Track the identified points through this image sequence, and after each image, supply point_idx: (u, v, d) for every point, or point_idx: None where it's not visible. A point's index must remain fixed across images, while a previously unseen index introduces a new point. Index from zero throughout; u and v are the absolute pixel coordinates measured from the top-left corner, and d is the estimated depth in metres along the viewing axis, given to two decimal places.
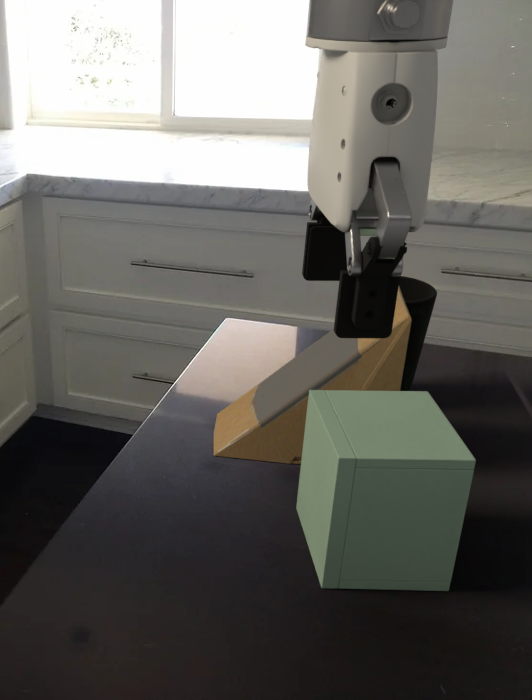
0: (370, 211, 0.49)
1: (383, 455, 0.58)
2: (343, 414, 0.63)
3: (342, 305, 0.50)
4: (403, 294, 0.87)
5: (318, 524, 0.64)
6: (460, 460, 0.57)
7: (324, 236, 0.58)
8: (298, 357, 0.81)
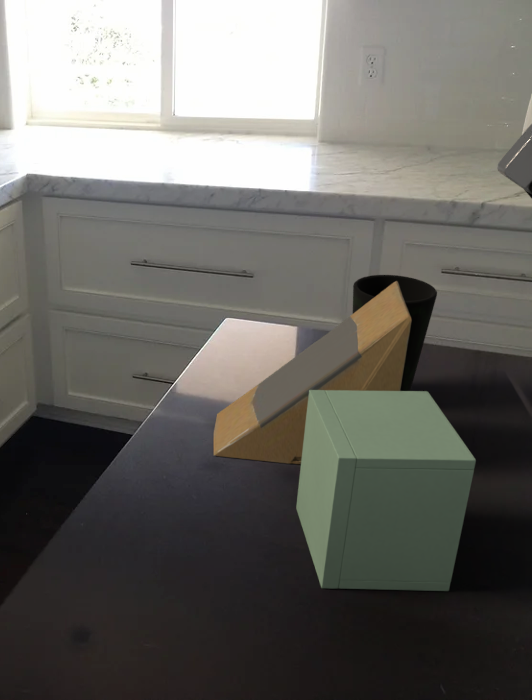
0: None
1: (383, 455, 0.58)
2: (343, 414, 0.63)
3: None
4: (403, 294, 0.87)
5: (318, 524, 0.64)
6: (460, 460, 0.57)
7: None
8: (298, 357, 0.81)
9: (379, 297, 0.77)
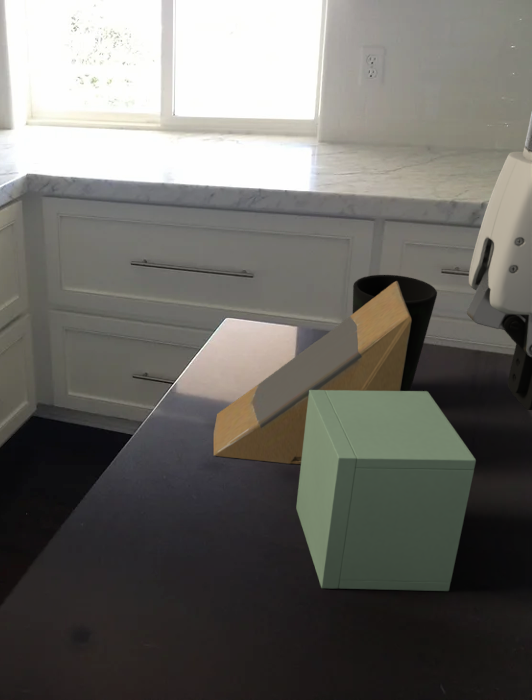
0: None
1: (383, 455, 0.58)
2: (343, 414, 0.63)
3: None
4: (403, 294, 0.87)
5: (318, 524, 0.64)
6: (460, 460, 0.57)
7: None
8: (298, 357, 0.81)
9: (379, 297, 0.77)
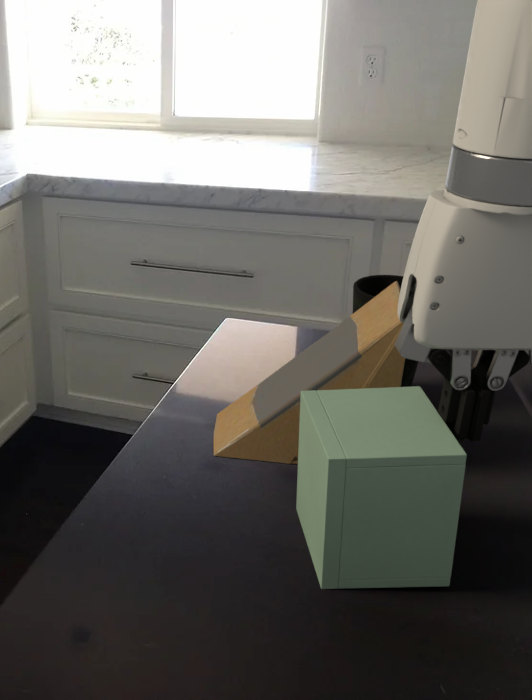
0: None
1: (373, 454, 0.58)
2: (334, 414, 0.63)
3: None
4: None
5: (315, 525, 0.64)
6: (451, 455, 0.57)
7: None
8: (298, 357, 0.81)
9: (379, 297, 0.77)
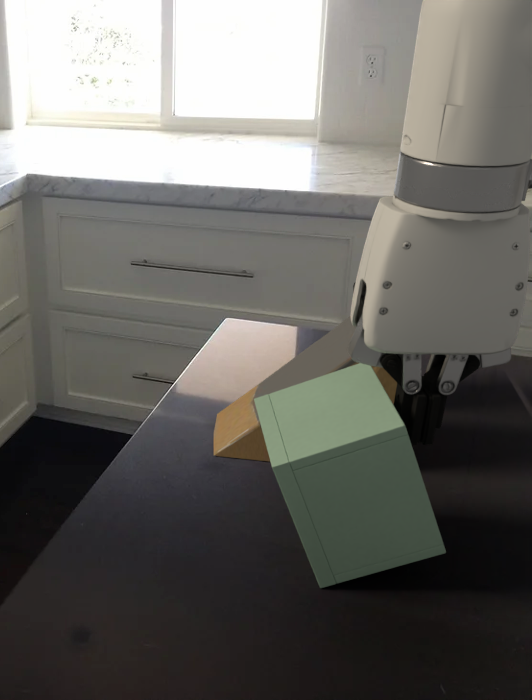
0: None
1: (314, 450, 0.58)
2: (282, 415, 0.64)
3: None
4: None
5: None
6: (389, 430, 0.57)
7: None
8: (298, 357, 0.81)
9: None
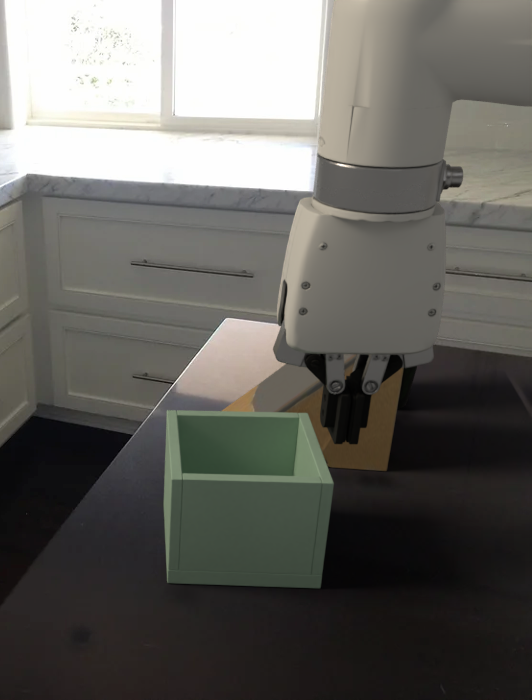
0: None
1: (168, 546, 0.62)
2: (165, 515, 0.68)
3: None
4: None
5: None
6: (171, 491, 0.60)
7: None
8: None
9: None
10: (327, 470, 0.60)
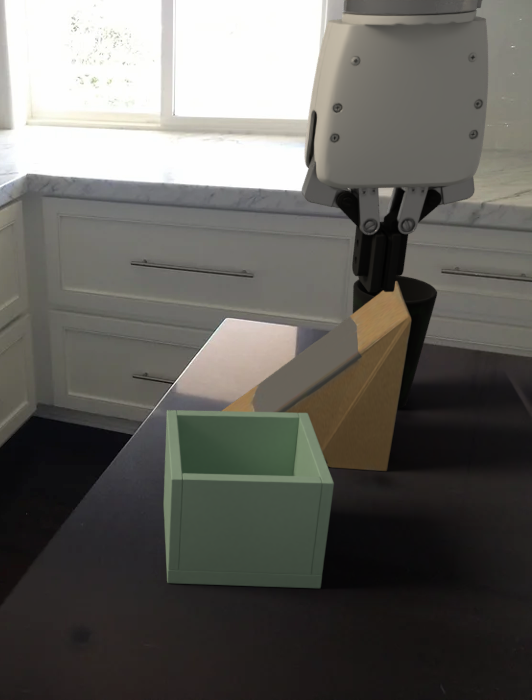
0: None
1: (168, 546, 0.62)
2: (165, 515, 0.68)
3: None
4: (403, 294, 0.87)
5: None
6: (171, 491, 0.60)
7: None
8: (298, 357, 0.81)
9: (379, 297, 0.77)
10: (327, 470, 0.60)
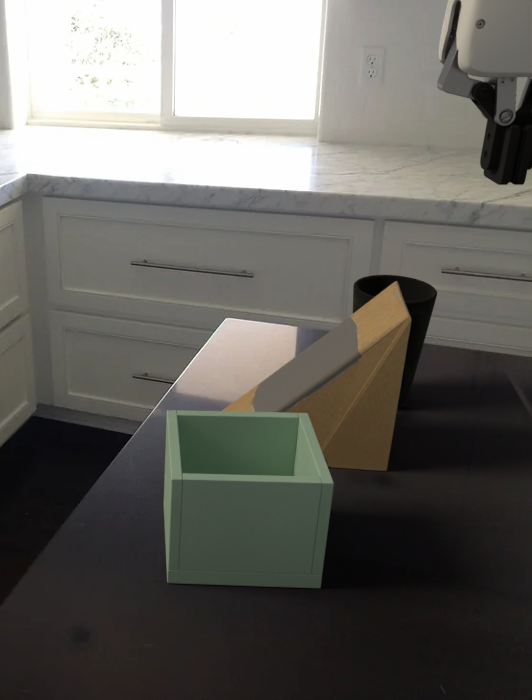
0: None
1: (168, 546, 0.62)
2: (165, 515, 0.68)
3: None
4: (403, 294, 0.87)
5: None
6: (171, 491, 0.60)
7: None
8: (298, 357, 0.81)
9: (379, 297, 0.77)
10: (327, 470, 0.60)
